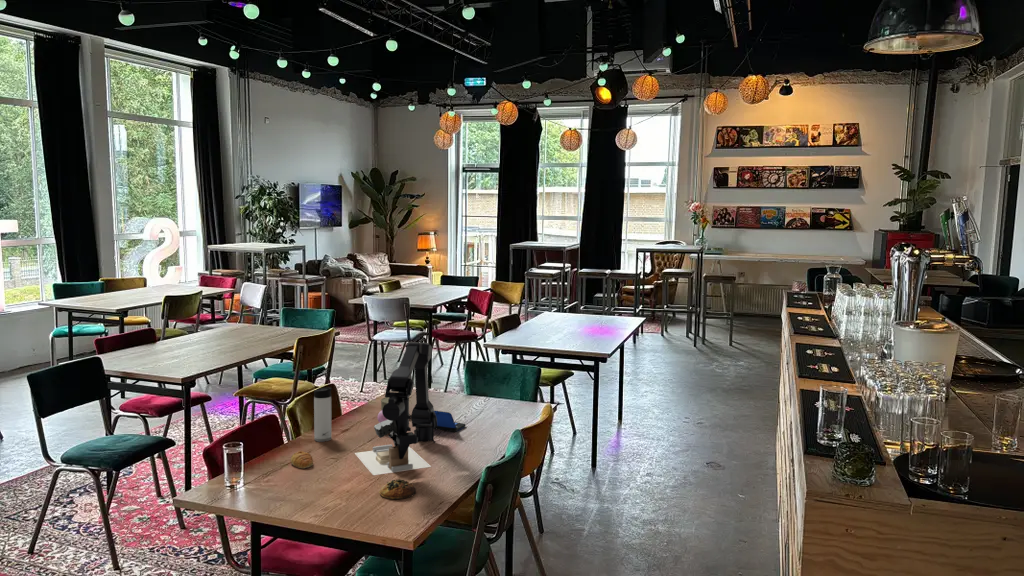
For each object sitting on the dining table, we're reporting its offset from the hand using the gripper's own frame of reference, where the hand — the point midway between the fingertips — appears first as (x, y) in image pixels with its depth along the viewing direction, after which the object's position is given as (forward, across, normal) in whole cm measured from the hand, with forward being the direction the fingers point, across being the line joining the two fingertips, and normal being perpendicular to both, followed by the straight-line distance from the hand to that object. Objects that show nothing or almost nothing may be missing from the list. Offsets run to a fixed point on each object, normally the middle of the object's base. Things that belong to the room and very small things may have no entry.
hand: (400, 457), depth 234 cm
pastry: (+5, -20, -28) cm, 35 cm away
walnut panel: (+3, 0, 0) cm, 3 cm away
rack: (+4, -9, 0) cm, 10 cm away
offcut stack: (+4, -9, 0) cm, 10 cm away
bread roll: (+5, +18, -7) cm, 20 cm away
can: (+5, -66, +19) cm, 69 cm away
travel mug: (+5, -44, -16) cm, 47 cm away
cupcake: (+5, -42, +9) cm, 43 cm away
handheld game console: (+5, -40, +30) cm, 50 cm away
